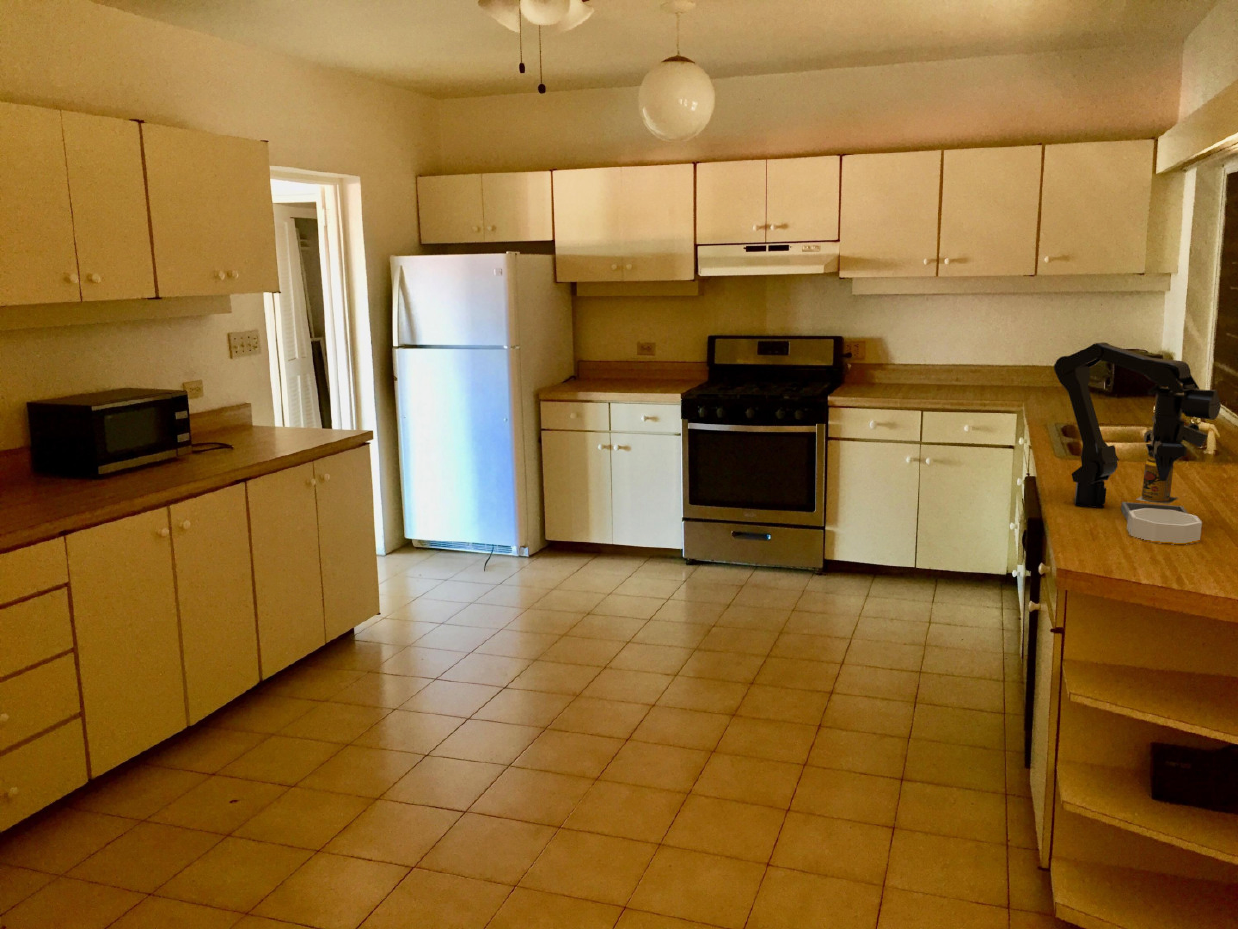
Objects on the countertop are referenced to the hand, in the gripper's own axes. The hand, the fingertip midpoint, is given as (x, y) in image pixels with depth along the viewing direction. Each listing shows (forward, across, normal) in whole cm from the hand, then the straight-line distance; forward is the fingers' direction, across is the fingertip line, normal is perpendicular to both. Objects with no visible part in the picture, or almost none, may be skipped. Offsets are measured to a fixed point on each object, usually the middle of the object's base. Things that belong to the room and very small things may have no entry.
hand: (1160, 477), depth 236 cm
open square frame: (+10, 0, 0) cm, 10 cm away
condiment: (+6, +1, 0) cm, 6 cm away
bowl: (+10, -15, +1) cm, 18 cm away
